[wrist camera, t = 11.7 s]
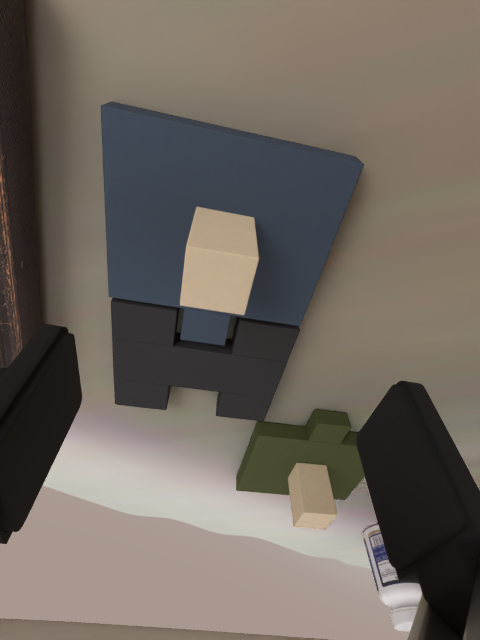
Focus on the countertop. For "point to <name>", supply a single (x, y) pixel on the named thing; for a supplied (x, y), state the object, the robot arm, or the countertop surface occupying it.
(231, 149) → the slate tile
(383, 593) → the pill bottle
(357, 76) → the countertop surface
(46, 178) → the countertop surface
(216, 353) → the base tile
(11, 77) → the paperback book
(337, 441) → the olive tile
